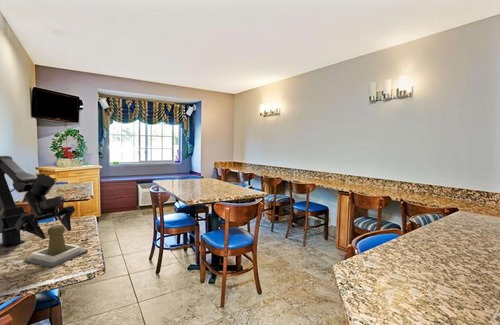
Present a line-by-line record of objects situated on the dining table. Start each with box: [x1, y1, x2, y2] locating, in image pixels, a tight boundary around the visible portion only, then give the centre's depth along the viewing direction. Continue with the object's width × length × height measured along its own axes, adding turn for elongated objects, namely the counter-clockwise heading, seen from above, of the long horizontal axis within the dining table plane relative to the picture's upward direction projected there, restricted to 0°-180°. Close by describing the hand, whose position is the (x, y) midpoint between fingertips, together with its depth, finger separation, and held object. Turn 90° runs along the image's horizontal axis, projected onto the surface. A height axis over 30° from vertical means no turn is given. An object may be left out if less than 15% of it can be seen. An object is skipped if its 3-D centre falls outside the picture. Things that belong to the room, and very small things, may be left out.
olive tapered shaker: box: [47, 224, 66, 256], centre depth 99 cm, size 6×6×11 cm
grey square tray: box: [23, 242, 88, 268], centre depth 99 cm, size 14×14×3 cm
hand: (57, 234), depth 98 cm, fingers open, 9 cm apart
